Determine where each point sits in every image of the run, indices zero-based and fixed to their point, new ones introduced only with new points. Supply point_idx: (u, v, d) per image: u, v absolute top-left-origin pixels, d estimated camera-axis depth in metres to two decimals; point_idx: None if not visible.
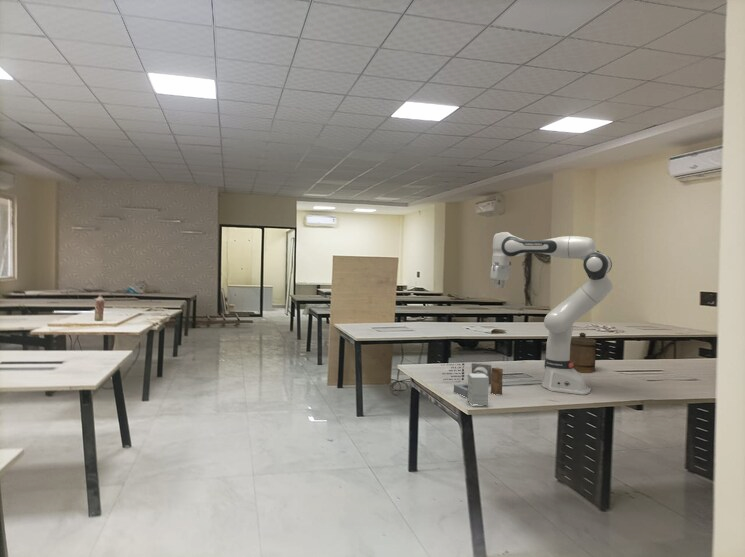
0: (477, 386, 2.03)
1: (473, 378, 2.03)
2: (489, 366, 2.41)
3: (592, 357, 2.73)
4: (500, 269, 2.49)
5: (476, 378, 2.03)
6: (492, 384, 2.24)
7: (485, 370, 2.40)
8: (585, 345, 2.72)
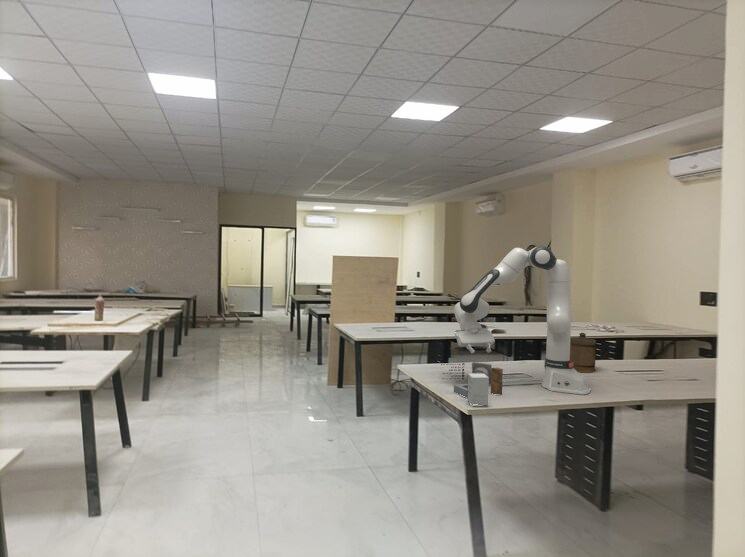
0: (477, 386, 2.03)
1: (473, 378, 2.03)
2: (489, 366, 2.41)
3: (592, 357, 2.73)
4: (467, 333, 2.38)
5: (476, 378, 2.03)
6: (492, 384, 2.24)
7: (485, 370, 2.41)
8: (585, 345, 2.72)
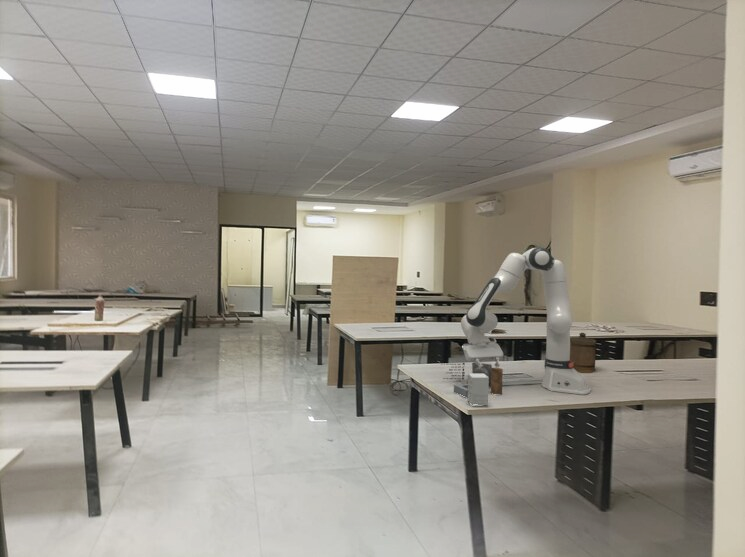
0: (477, 386, 2.03)
1: (473, 378, 2.03)
2: (489, 366, 2.41)
3: (592, 357, 2.73)
4: (475, 347, 2.32)
5: (476, 378, 2.03)
6: (492, 384, 2.24)
7: (485, 370, 2.41)
8: (585, 345, 2.72)
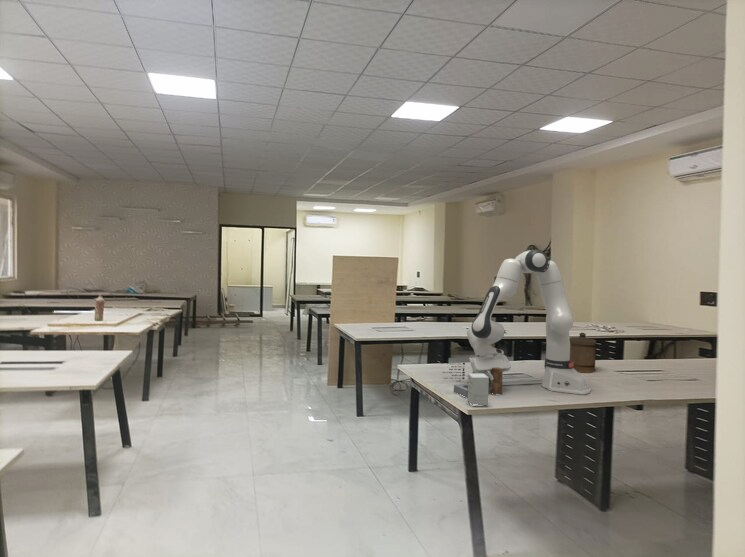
0: (477, 386, 2.03)
1: (473, 378, 2.03)
2: None
3: (592, 357, 2.73)
4: (482, 359, 2.27)
5: (476, 378, 2.03)
6: (492, 384, 2.24)
7: None
8: (585, 345, 2.72)
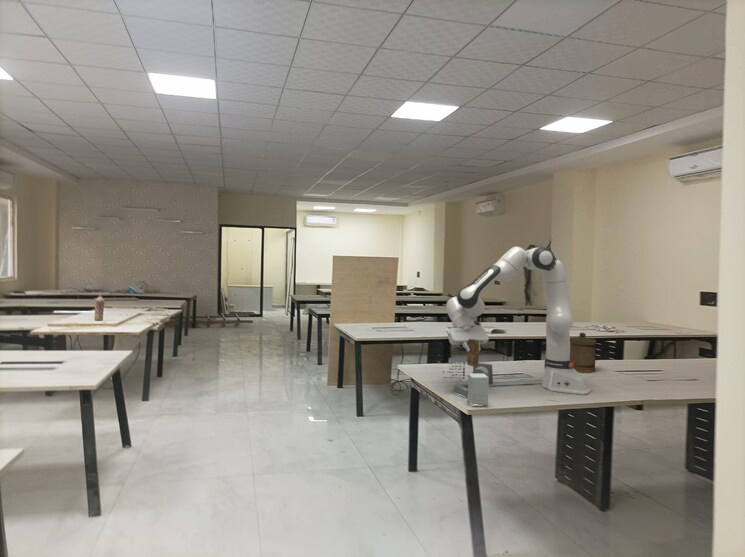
0: (477, 386, 2.03)
1: (473, 378, 2.03)
2: (489, 366, 2.42)
3: (592, 357, 2.73)
4: (459, 331, 2.25)
5: (476, 378, 2.03)
6: (468, 355, 2.22)
7: (485, 370, 2.41)
8: (585, 345, 2.72)
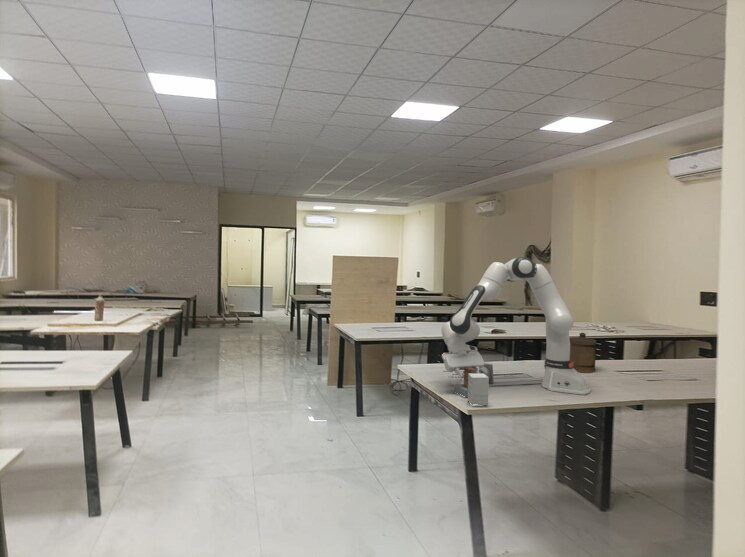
0: (477, 386, 2.03)
1: (473, 378, 2.03)
2: (490, 366, 2.42)
3: (592, 357, 2.73)
4: (455, 356, 2.25)
5: (476, 378, 2.03)
6: (465, 384, 2.22)
7: (485, 369, 2.42)
8: (585, 345, 2.72)
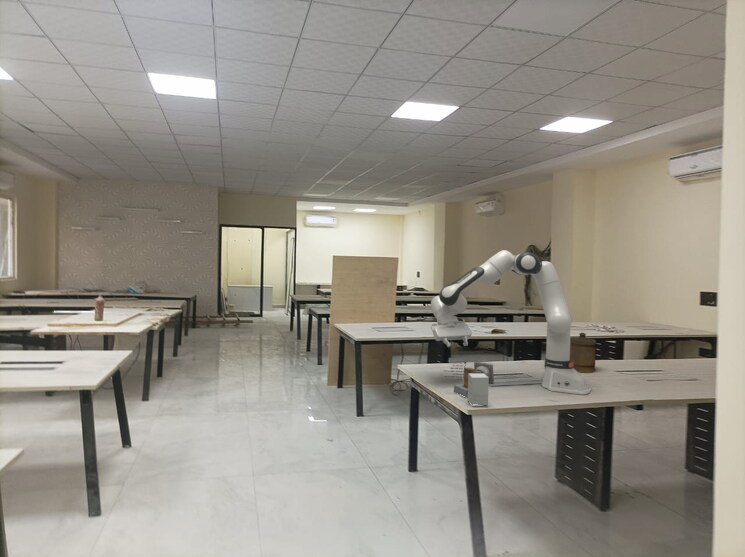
0: (477, 386, 2.03)
1: (473, 378, 2.03)
2: (490, 366, 2.42)
3: (592, 357, 2.73)
4: (443, 327, 2.36)
5: (476, 378, 2.03)
6: (465, 384, 2.22)
7: (485, 369, 2.42)
8: (585, 345, 2.72)
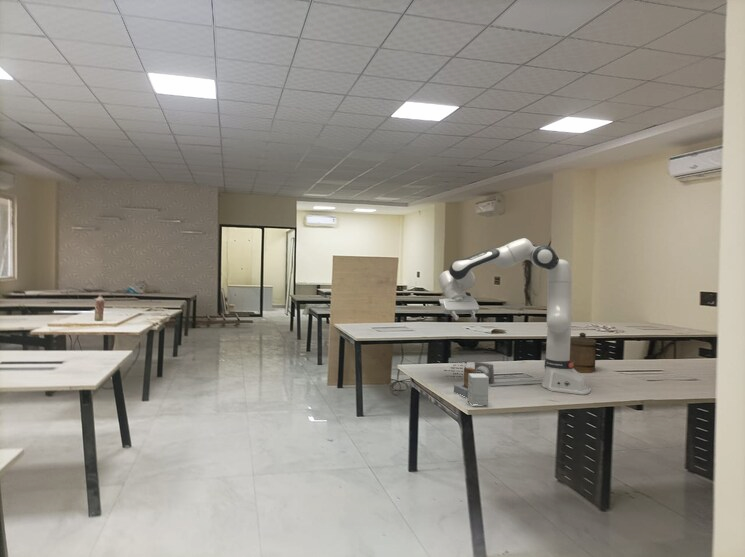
0: (477, 386, 2.03)
1: (473, 378, 2.03)
2: (490, 366, 2.42)
3: (592, 357, 2.73)
4: (451, 301, 2.38)
5: (476, 378, 2.03)
6: (465, 384, 2.22)
7: (486, 369, 2.42)
8: (585, 345, 2.72)
